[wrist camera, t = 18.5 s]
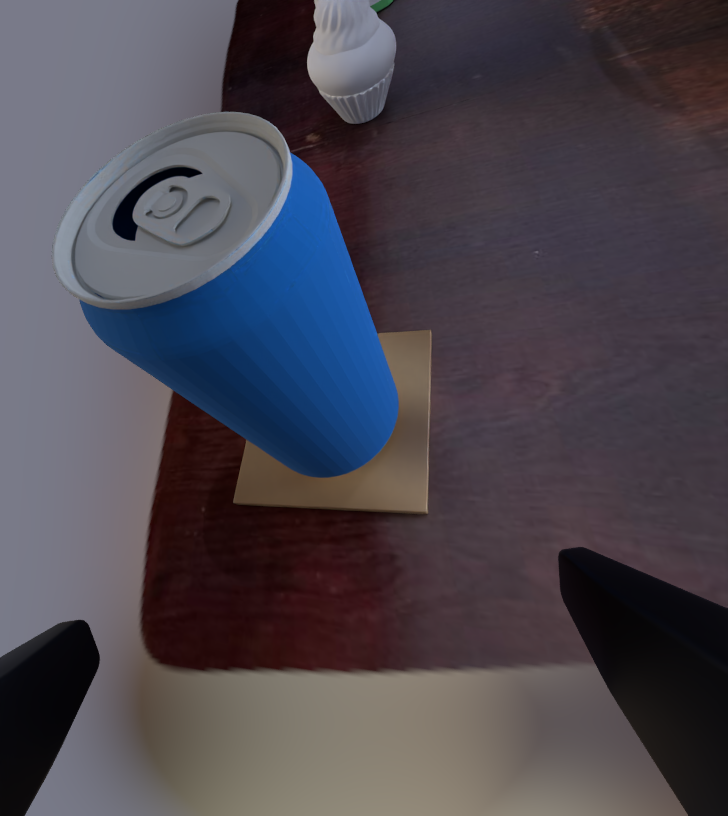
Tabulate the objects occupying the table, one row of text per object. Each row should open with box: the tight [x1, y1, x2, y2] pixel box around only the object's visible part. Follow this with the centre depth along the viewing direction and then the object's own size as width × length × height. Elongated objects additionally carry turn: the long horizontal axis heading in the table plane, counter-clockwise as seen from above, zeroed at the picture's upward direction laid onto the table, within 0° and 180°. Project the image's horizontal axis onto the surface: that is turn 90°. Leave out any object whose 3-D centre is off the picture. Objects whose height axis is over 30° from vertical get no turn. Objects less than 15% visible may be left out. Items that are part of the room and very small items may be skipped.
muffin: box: [307, 0, 396, 124], centre depth 27 cm, size 6×6×7 cm
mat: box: [233, 330, 432, 514], centre depth 19 cm, size 9×9×1 cm
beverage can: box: [52, 112, 399, 478], centre depth 14 cm, size 6×6×12 cm
